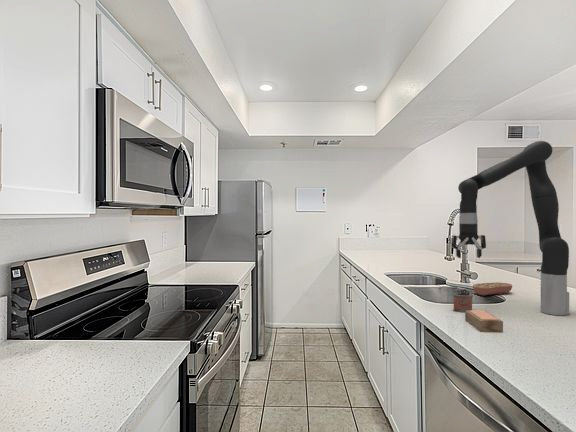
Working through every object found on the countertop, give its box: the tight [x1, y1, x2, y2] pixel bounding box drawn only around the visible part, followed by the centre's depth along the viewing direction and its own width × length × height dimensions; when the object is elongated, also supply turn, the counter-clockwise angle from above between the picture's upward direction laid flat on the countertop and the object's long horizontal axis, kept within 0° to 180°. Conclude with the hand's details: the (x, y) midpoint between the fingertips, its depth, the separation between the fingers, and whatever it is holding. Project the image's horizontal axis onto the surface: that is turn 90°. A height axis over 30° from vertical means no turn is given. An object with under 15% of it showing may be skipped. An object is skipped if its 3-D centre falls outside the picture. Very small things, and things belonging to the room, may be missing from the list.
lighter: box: [452, 288, 473, 313], centre depth 159 cm, size 8×3×10 cm, turn 84°
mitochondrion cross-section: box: [472, 282, 513, 296], centre depth 191 cm, size 23×10×5 cm, turn 108°
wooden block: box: [464, 309, 504, 333], centre depth 139 cm, size 8×14×4 cm, turn 175°
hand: (468, 257), depth 165 cm, fingers open, 8 cm apart
